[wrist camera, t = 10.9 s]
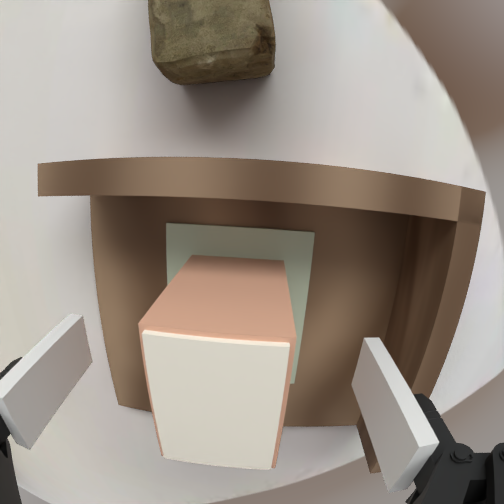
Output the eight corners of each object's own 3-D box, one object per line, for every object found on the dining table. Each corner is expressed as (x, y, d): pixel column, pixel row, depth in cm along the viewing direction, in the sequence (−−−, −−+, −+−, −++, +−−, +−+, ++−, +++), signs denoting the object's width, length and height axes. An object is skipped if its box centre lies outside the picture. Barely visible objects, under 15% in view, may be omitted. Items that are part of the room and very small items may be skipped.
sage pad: (173, 371, 20) (173, 373, 19) (167, 222, 17) (166, 223, 17) (294, 381, 19) (294, 383, 19) (314, 231, 17) (314, 232, 17)
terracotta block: (192, 254, 17) (135, 327, 9) (283, 260, 17) (297, 341, 9) (194, 360, 19) (160, 459, 11) (273, 366, 19) (274, 472, 11)
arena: (122, 397, 22) (94, 448, 16) (98, 160, 17) (37, 163, 11) (371, 415, 21) (390, 470, 16) (427, 181, 17) (485, 192, 11)
